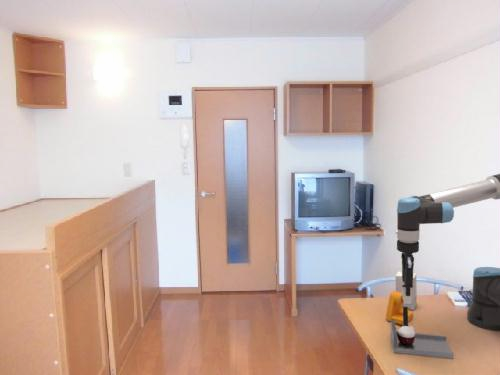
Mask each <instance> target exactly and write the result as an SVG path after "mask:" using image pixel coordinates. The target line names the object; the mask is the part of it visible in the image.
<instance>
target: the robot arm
mask: <svg viewBox="0 0 500 375" xmlns="http://www.w3.org/2000/svg"><path fill="white" fill-rule="evenodd" d="M489 199H490V200H491V199H493V200H500V173H498V174H493V175H490V176H488V177H486V178H485V179H484V180H480V181H477V182H472V183H469V184H465V185H461V186H457V187H453V188H452V187H451V188H449V189H444V190H441V191H438V192H437V191H436V192H432V193H428V194H425V195H419V196H418V195H410V196H408V197H402V198H399V199H398V201H397V208H396V213H397V214H396V215H397V218H396V219H397V221H396V222H397V225H396V226H397V230H396V231H395V234H396V236H397V237H396V238H397V240H396V251H398V252H401V272H402V278H403V279H402V281H403V285H402V299H403V303H404V304H411V302H412V288H413V273H414V265H415V263H414V262H415V257H414V255H413V254H416V253H418V252H419V251H420V225H424V224H425V225H428V224H445V223H450V222H452V221H453V219H454V216H455V211H454V208H457V207H462V206H465V205H470V204H474V203H479V202H482V201H485V200H489ZM471 299H472V301H471V303H470V306H469V307H468V310H467V312H466V313H467V314H466V319H467V321H468V322H469V323H470V324H472V325H474V326H476V327H479V328H483V329H484V330H485V329H486V330H493V331H500V267H497V266H496V267H495V266H479V267H476V268H475V269H474V270H473V275H472V298H471Z"/></svg>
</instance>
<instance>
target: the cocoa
mask: <svg viewBox="0 0 500 375" xmlns="http://www.w3.org/2000/svg"><path fill="white" fill-rule="evenodd" d="M402 309H403V325H402V326H401V327H399V329H398V330H396V331H397V336H398V340H399V341H400V342H401V343H402V344H404V345H411V344H412V343H413V342H414V339H415V333H416V332H415V328H414V326H412V325H409V322H408V311H409V309H408V307H403V308H402Z"/></svg>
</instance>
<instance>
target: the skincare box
mask: <svg viewBox="0 0 500 375" xmlns="http://www.w3.org/2000/svg"><path fill="white" fill-rule="evenodd" d="M402 279H403V278H402V271H399V270H398V271H397V273H396V274H395V291H396V292H400V293H402V285H403V281H402ZM417 296H418V295H417V273H416V272H413V288H412V302H411V304H404V305H403V306H402V309H403V307H408V310H409V311H415V309H416V308H417V305H418V304H417V302H418V301H417V299H418V298H417Z"/></svg>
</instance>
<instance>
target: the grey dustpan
mask: <svg viewBox="0 0 500 375" xmlns="http://www.w3.org/2000/svg"><path fill="white" fill-rule="evenodd" d="M397 331H398V330H397V326H396V323H395V321H394V319H391V321H390V339H391V345H392V350H393V353H394V354H403V355H404V354H405V355H410V356H411V355H412V356H420V357H421V356H422V357H430V358H431V357H432V358H439V359H451V360H453V359H454V355H455V354H454V352H452V349H451V348H450V344H449V343H448V340H447V335H443V334H442V335H441V334H431V333H430V334H429V333H420V332H419V333H418V332H415V339H414V342H413V343H412V344H411V345H404V344H402V343H401V342H400V341H399V340H398V336H397Z"/></svg>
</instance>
